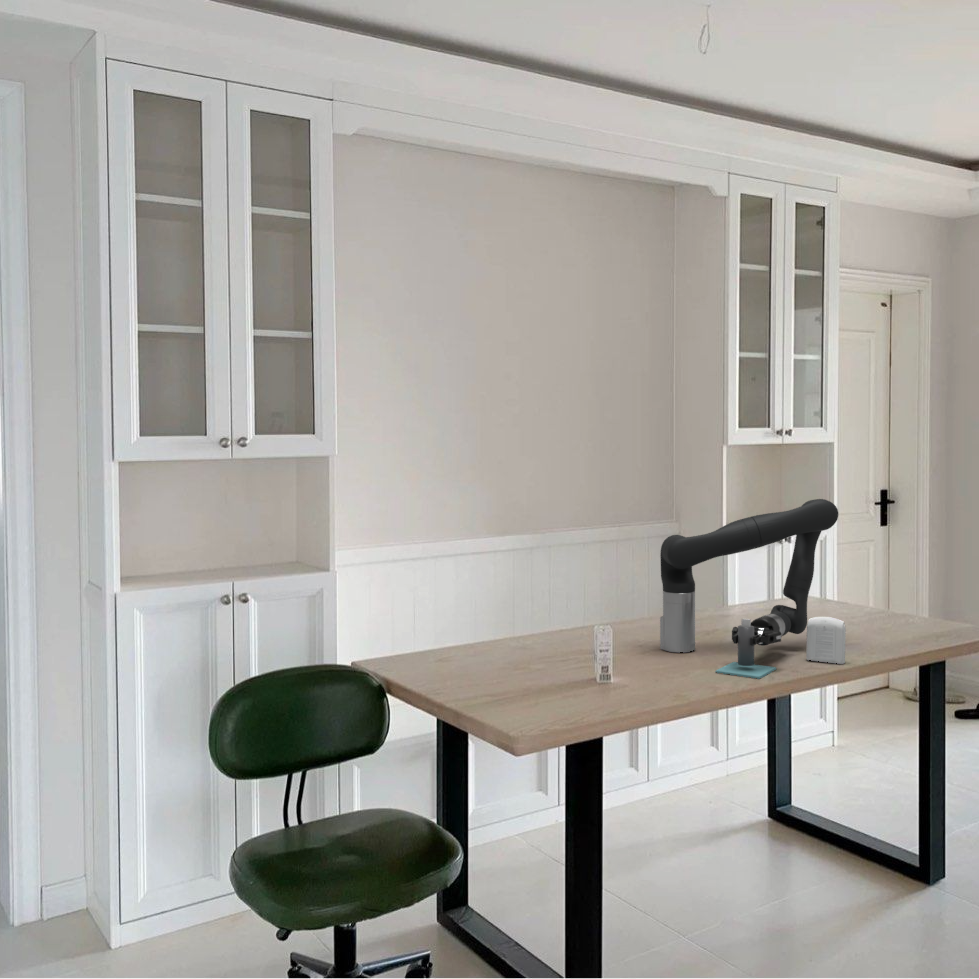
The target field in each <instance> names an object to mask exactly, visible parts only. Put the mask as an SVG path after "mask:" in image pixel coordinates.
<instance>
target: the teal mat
mask: <svg viewBox="0 0 979 979" xmlns="http://www.w3.org/2000/svg"><path fill="white" fill-rule="evenodd" d="M774 670H775V671H776V670H777V667H775V666H768V665H761V664H760V665H759V664H755V663H754V665H752V666H742V665H739V664H738V661H732V662H730V663H728V664H725V666H722V667H720V668H718V669H715V673H716V672H717V673H716V674H719V673H723V674H722V675H726V674H730V675H729V676H734V675H737V676H736V677H741V676H743V677H742V678H748V677H751V678H750V679H755V678H757V680H761V679H762V678H764V677H765V676H768V675H770V674H771V673H773V672H774ZM772 671H773V672H772ZM767 674H768V675H767ZM760 678H761V679H760Z"/></svg>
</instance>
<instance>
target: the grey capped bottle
mask: <svg viewBox="0 0 979 979" xmlns="http://www.w3.org/2000/svg"><path fill="white" fill-rule="evenodd" d="M751 622H752V621H751V619H750V618H741V624H740V625H737V627H738V643H737V662H738V664H739V665H742V666H752V665H754V664H755V645H754V646H751V645H750V638H751V637H753V636H754V626H751Z"/></svg>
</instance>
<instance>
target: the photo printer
mask: <svg viewBox="0 0 979 979" xmlns="http://www.w3.org/2000/svg"><path fill="white" fill-rule="evenodd" d="M846 631H847V630H846V625H845V621H843V620H841V619H839V618H835V617H831V616H814V617H811V618H809V619H807V626H806V652H805V654H806V655H805V656H806V659H805V660H806V661H809V660H811V661H812V662H818V661H819V662H821V663H827V662H828V663H829V664H836V663H837V665H844V664H845V662H846V634H847V633H846ZM811 661H810V662H811ZM819 662H818V663H819ZM828 663H827V664H828Z"/></svg>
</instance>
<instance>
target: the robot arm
mask: <svg viewBox="0 0 979 979" xmlns="http://www.w3.org/2000/svg"><path fill="white" fill-rule="evenodd" d="M838 518H839V509H838V508H837V506H836V505H835V503H834V502H832V501H830V500H828V499H823V498H817V499H816V498H815V499H809V500H808V501H806V502H804V503H803V504H802V505H801V506H798V507H796V508H793V509H788V510H784V511H778V512H768V513H762V514H757V515H752V516H748V517H744V518H740V519H738V520H734V521H732V522H730V523H727V524H726V525H723V526H722V527H720V528H717V529H716V530H714V531H711V532H708V533H705V534H703V533H702V534H700V535H699V534H698V535H693V536H683V535H682V534H681V535H680V534H672V535H669V536H667V537H666V538H665V539H664V540H663V542H662V544H661V546H660V556H659V557H660V579H661V583H662V616H661V615H660V617H659V625H660V626H659V627H660V628H659V638H660V640H659V643H660V644H659V646H660V647H659V648H660V649H659V650H662V651H663V650H664V651H666V652H670V653H680V652H683V653H690V651H692V652H694V651H696V581H695V579H694V576H693V567H694V566H696V565H698V564H701V563H705V562H706V561H709V560H712V559H716V558H719V557H723V556H728V555H733V554H734V555H735V554H738V553H743V552H747V551H752V550H755V549H758V548H763V547H766V546H769V545H771V544H774V543H778V542H780V541H782V540H785V539H788V538H790V537H794V536H795V541H794V545H793V546H794V548H793V552H792V557H791V561H790V563H789V564H790V565H789V569H788V572H787V575H786V579H785V582H784V585H783V586H784V587H783V590H782V594H783V596H784V597H785V598H788V599H790V600H792V601H793V602H794V604H795V607H791V606H787V605H784V604H776V605H774V606H773V607H772V609H771V611H770V613H769V614H765V615H762V616H759V617H757V618H755V619H754V620H752V621H751V626H754V636H753V637H751V638H750V645H751V646H754V647H755V646H756V645H758V646H762V647H764V646H768V645H771V644H774V643H775V644H776V643H780V642H782V637H784V636H786V635H787V634H788V633H791V634H795V635H800V634H802V633H804V632H805V630H806V629H807V624H808V597H809V593H810V590H811V586H812V582H813V578H814V572H815V554H816V548H817V544H818V541H819V538H820V536H821V534H822V532H823V531H828V530H829V529H831V528H832V527H833V526H834V525H835V524H836V523H837V520H838ZM731 640H732V642H733V644H736V645H738V626H733V627H732V630H731ZM693 650H694V651H693ZM680 654H681V653H680Z"/></svg>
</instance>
